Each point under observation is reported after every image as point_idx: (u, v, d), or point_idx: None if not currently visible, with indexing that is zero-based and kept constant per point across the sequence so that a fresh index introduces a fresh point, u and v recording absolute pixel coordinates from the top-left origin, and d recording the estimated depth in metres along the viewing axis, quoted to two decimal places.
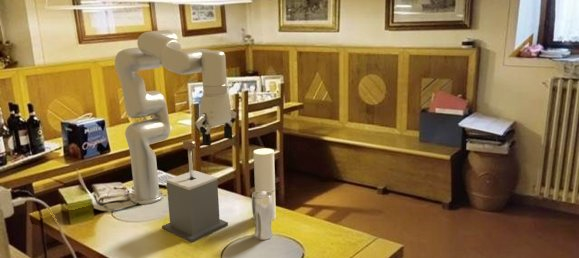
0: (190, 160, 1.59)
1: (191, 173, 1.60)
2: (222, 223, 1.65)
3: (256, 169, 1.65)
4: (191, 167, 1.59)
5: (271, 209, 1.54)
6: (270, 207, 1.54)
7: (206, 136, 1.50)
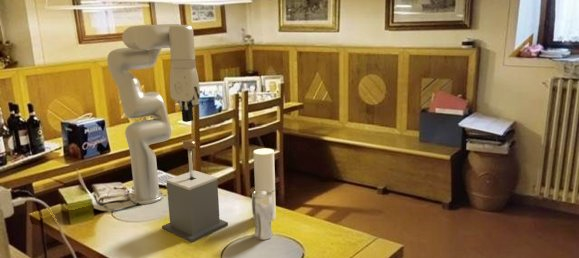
0: (190, 160, 1.59)
1: (191, 173, 1.60)
2: (222, 223, 1.65)
3: (256, 169, 1.65)
4: (191, 167, 1.59)
5: (271, 209, 1.54)
6: (270, 207, 1.54)
7: None
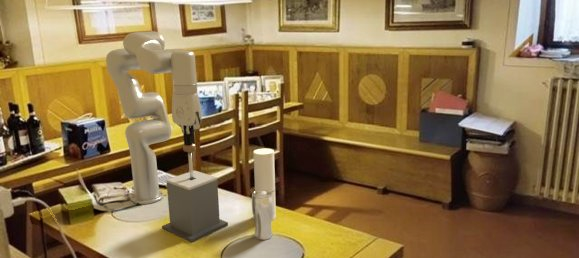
0: (190, 163, 1.59)
1: (191, 176, 1.60)
2: (222, 223, 1.65)
3: (256, 169, 1.65)
4: (191, 170, 1.60)
5: (271, 209, 1.54)
6: (270, 207, 1.54)
7: None
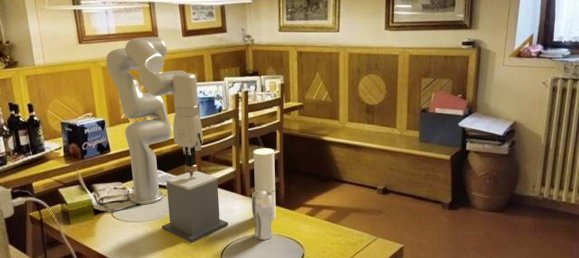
0: None
1: None
2: (222, 223, 1.65)
3: (256, 169, 1.65)
4: None
5: (271, 209, 1.54)
6: (270, 207, 1.54)
7: None
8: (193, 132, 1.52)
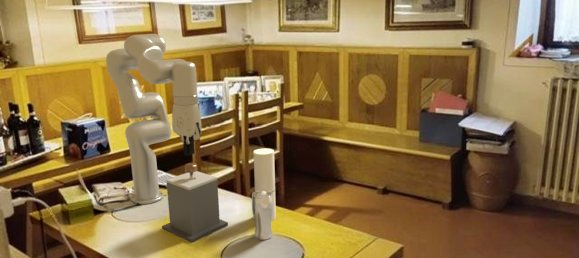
0: None
1: None
2: (222, 223, 1.65)
3: (256, 169, 1.65)
4: None
5: (271, 209, 1.54)
6: (270, 207, 1.54)
7: None
8: (192, 121, 1.51)
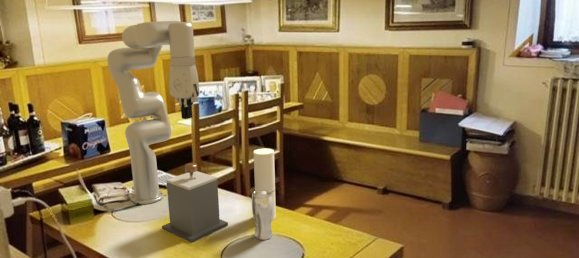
0: None
1: None
2: (222, 223, 1.65)
3: (256, 169, 1.65)
4: None
5: (271, 209, 1.54)
6: (270, 207, 1.54)
7: None
8: (189, 82, 1.48)
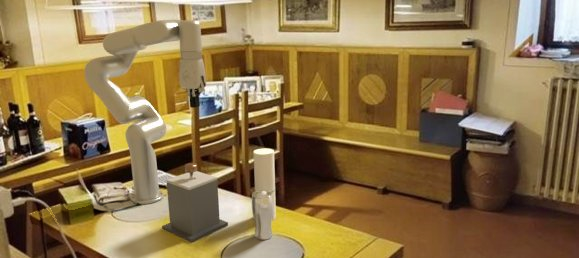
0: None
1: None
2: (222, 223, 1.65)
3: (256, 169, 1.65)
4: None
5: (271, 209, 1.54)
6: (270, 207, 1.54)
7: None
8: (197, 74, 1.65)
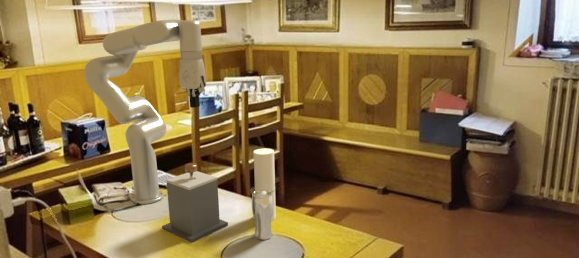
0: None
1: None
2: (222, 223, 1.65)
3: (256, 169, 1.65)
4: None
5: (271, 209, 1.54)
6: (270, 207, 1.54)
7: None
8: (197, 74, 1.65)
